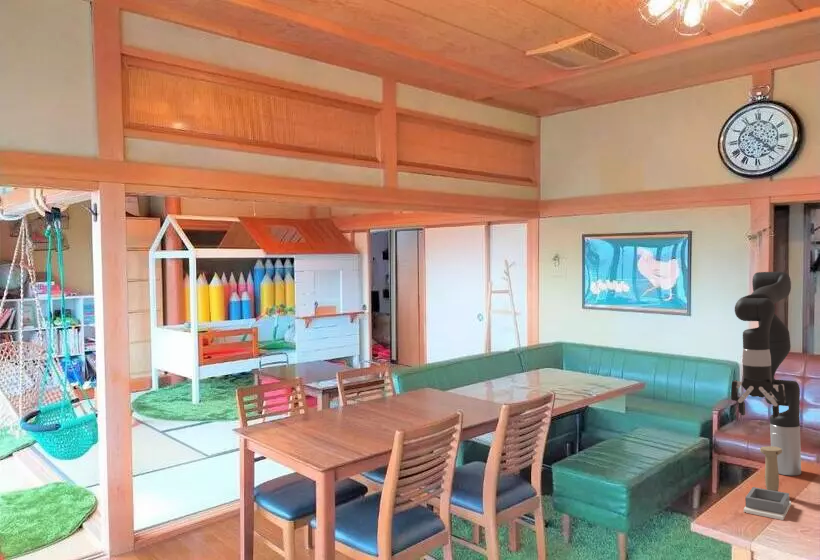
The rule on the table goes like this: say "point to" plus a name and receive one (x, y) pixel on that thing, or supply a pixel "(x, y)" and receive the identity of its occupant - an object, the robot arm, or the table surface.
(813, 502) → the table surface
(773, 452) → the handle
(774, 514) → the holder
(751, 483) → the table surface
